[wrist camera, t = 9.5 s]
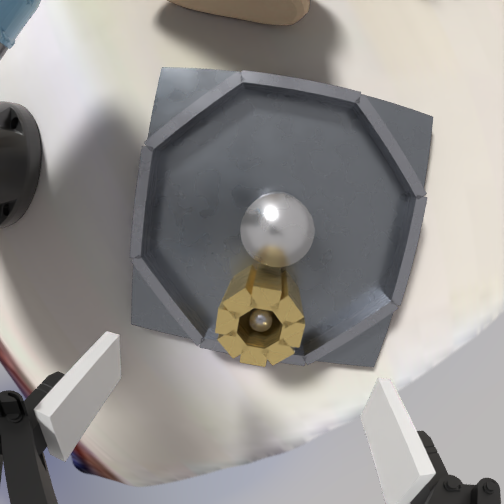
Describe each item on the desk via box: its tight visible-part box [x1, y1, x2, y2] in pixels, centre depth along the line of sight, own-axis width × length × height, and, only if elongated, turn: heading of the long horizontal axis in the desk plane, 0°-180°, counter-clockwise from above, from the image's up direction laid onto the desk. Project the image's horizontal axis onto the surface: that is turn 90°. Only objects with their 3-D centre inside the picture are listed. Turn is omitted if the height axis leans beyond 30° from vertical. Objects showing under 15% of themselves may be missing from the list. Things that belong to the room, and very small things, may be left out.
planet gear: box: [215, 263, 305, 367], centre depth 25 cm, size 6×6×6 cm
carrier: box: [130, 67, 433, 367], centre depth 24 cm, size 24×24×6 cm
